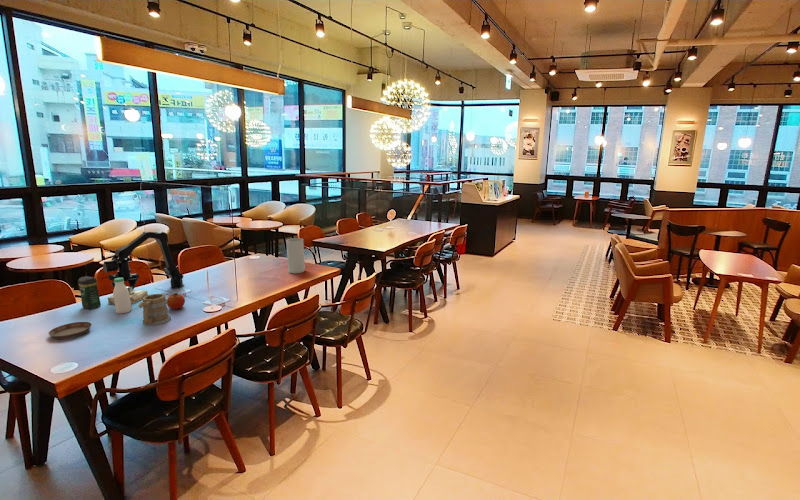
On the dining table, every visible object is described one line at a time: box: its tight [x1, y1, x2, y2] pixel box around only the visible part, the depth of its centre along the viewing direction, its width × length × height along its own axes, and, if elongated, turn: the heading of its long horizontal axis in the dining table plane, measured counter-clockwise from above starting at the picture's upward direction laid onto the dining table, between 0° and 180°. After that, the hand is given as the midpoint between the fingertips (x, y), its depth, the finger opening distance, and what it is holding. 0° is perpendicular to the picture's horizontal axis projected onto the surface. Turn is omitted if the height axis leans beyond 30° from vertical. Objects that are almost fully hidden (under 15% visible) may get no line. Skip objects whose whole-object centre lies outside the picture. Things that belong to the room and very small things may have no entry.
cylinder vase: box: [285, 237, 306, 274], centre depth 326 cm, size 12×12×25 cm
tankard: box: [138, 293, 172, 326], centre depth 229 cm, size 20×13×15 cm, turn 178°
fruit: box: [166, 292, 186, 310], centre depth 252 cm, size 10×10×10 cm
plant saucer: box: [48, 321, 93, 340], centre depth 218 cm, size 18×18×3 cm
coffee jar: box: [77, 275, 101, 310], centre depth 254 cm, size 10×8×19 cm
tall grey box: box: [126, 285, 134, 295], centre depth 268 cm, size 5×3×8 cm, turn 90°
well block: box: [107, 289, 149, 304], centre depth 268 cm, size 16×14×4 cm
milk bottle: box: [112, 278, 132, 315], centre depth 246 cm, size 8×8×20 cm
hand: (127, 293), depth 268 cm, fingers open, 9 cm apart
